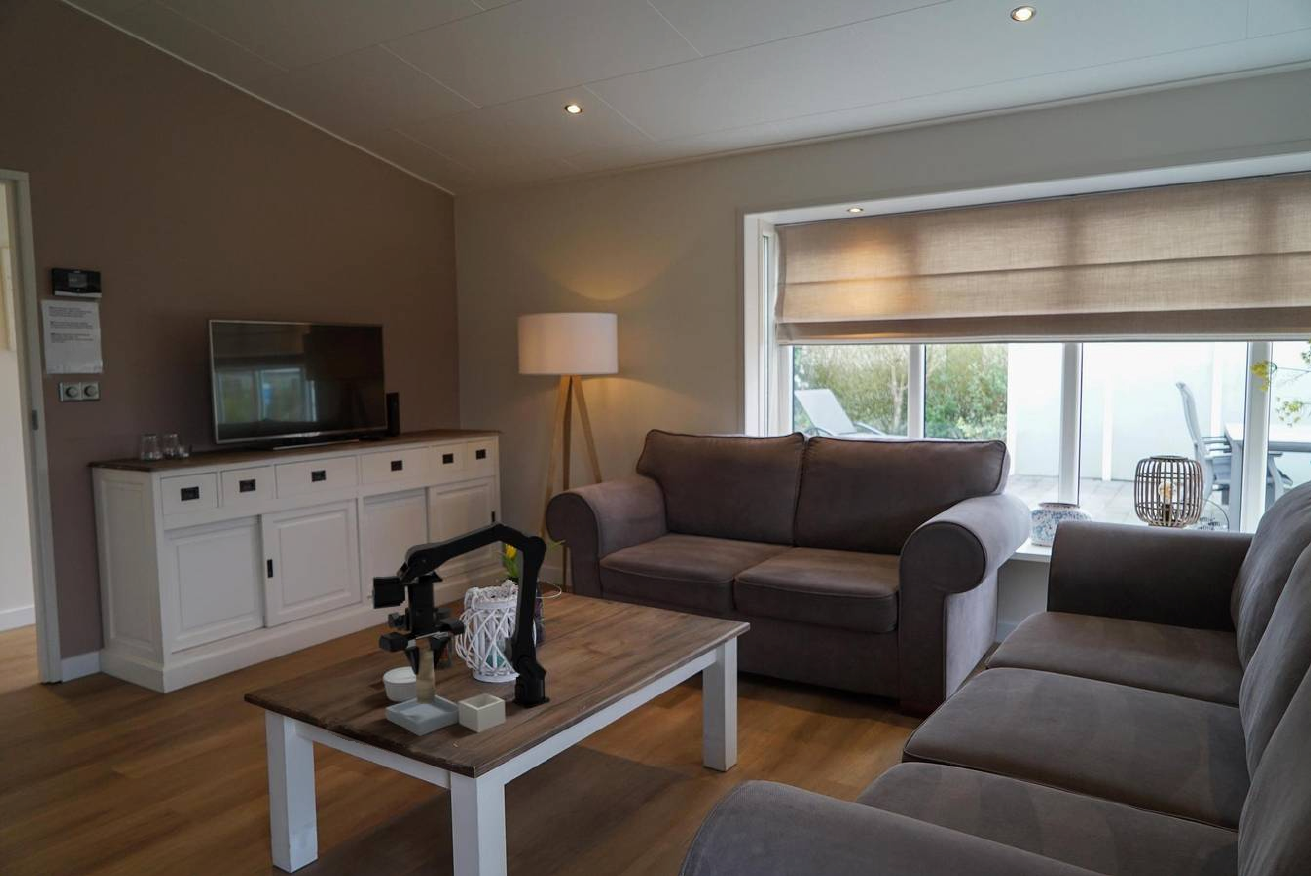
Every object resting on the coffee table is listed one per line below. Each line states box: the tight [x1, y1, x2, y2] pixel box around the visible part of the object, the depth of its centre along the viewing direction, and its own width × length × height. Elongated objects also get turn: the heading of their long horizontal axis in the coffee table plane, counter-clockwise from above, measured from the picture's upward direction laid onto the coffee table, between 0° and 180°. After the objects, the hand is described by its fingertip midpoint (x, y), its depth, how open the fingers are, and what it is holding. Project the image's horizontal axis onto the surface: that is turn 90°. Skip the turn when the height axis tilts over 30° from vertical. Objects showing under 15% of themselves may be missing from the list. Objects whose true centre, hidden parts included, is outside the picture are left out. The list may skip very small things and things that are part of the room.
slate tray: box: [385, 693, 459, 737], centre depth 200 cm, size 12×14×2 cm
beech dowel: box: [416, 648, 436, 704], centre depth 200 cm, size 4×4×11 cm
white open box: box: [458, 692, 507, 733], centre depth 197 cm, size 7×7×5 cm
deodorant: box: [428, 606, 454, 670], centre depth 235 cm, size 6×6×15 cm
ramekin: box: [382, 666, 417, 703], centre depth 215 cm, size 11×11×5 cm
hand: (424, 671), depth 200 cm, fingers closed on beech dowel, 4 cm apart
